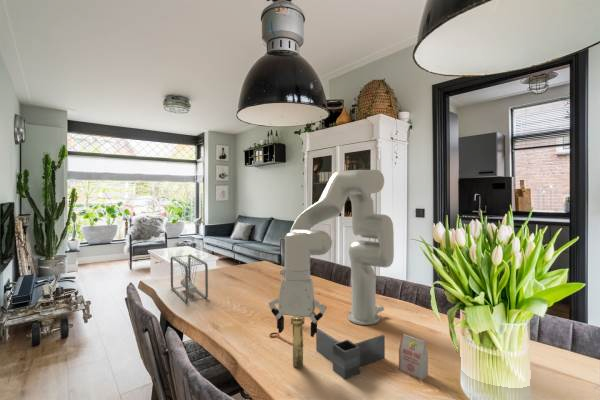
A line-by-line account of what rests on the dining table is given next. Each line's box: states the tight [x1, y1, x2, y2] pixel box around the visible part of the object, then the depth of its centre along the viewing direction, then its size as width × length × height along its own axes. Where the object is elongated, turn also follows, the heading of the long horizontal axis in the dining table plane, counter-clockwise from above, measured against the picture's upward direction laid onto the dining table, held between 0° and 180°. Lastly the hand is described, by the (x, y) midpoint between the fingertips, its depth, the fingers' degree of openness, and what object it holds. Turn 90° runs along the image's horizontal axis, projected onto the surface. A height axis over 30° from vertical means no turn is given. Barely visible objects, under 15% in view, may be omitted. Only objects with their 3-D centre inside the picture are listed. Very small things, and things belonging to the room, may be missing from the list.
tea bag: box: [398, 333, 429, 381], centre depth 89 cm, size 4×7×10 cm, turn 42°
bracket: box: [315, 328, 386, 380], centre depth 98 cm, size 17×17×8 cm
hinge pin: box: [290, 316, 306, 369], centre depth 93 cm, size 4×4×14 cm
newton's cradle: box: [170, 254, 209, 304], centre depth 161 cm, size 30×10×18 cm, turn 35°
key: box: [269, 332, 305, 347], centre depth 109 cm, size 6×1×15 cm
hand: (296, 333), depth 92 cm, fingers open, 9 cm apart
